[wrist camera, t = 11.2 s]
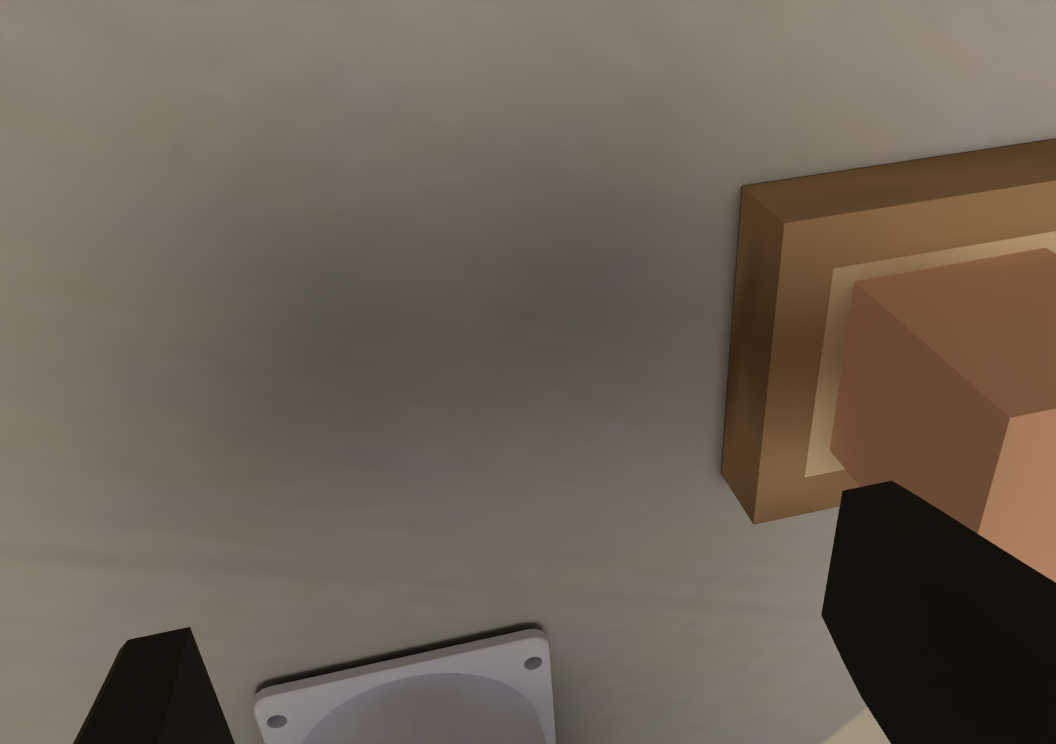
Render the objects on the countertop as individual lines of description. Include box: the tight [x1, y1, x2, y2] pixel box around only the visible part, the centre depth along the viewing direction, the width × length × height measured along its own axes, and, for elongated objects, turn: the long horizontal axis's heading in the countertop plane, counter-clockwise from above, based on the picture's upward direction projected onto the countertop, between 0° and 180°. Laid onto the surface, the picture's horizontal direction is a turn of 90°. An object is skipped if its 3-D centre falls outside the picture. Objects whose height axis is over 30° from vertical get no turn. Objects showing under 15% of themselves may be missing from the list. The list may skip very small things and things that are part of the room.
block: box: [830, 248, 1056, 582], centre depth 19 cm, size 4×4×5 cm
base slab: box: [721, 139, 1056, 524], centre depth 22 cm, size 8×8×2 cm
